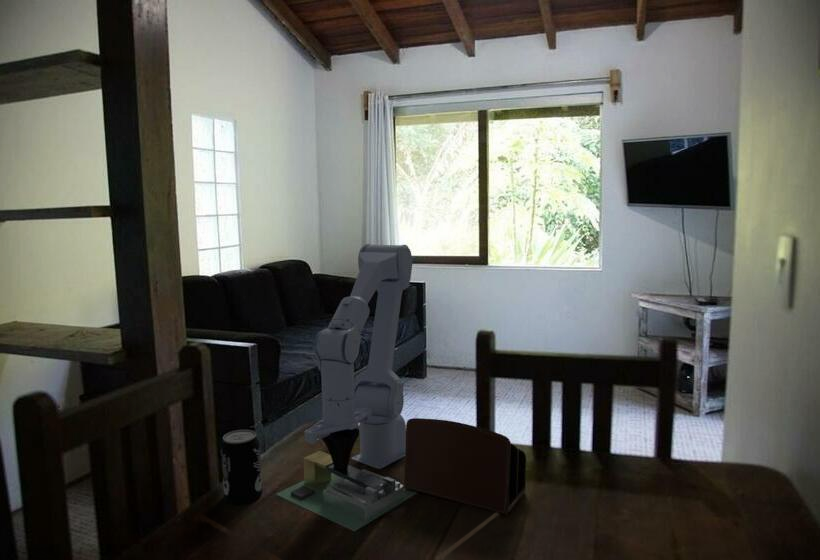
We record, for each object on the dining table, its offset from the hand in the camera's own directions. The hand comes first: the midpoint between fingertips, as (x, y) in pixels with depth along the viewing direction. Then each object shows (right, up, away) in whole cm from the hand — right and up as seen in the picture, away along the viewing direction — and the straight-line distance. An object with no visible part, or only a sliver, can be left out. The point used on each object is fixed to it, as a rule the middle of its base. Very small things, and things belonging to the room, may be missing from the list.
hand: (340, 468), depth 112 cm
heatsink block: (+4, -5, -3) cm, 7 cm away
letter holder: (+22, -5, +1) cm, 23 cm away
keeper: (-4, -4, +4) cm, 7 cm away
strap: (+3, -1, -2) cm, 4 cm away
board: (+1, -5, 0) cm, 5 cm away
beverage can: (-17, -6, 0) cm, 18 cm away
